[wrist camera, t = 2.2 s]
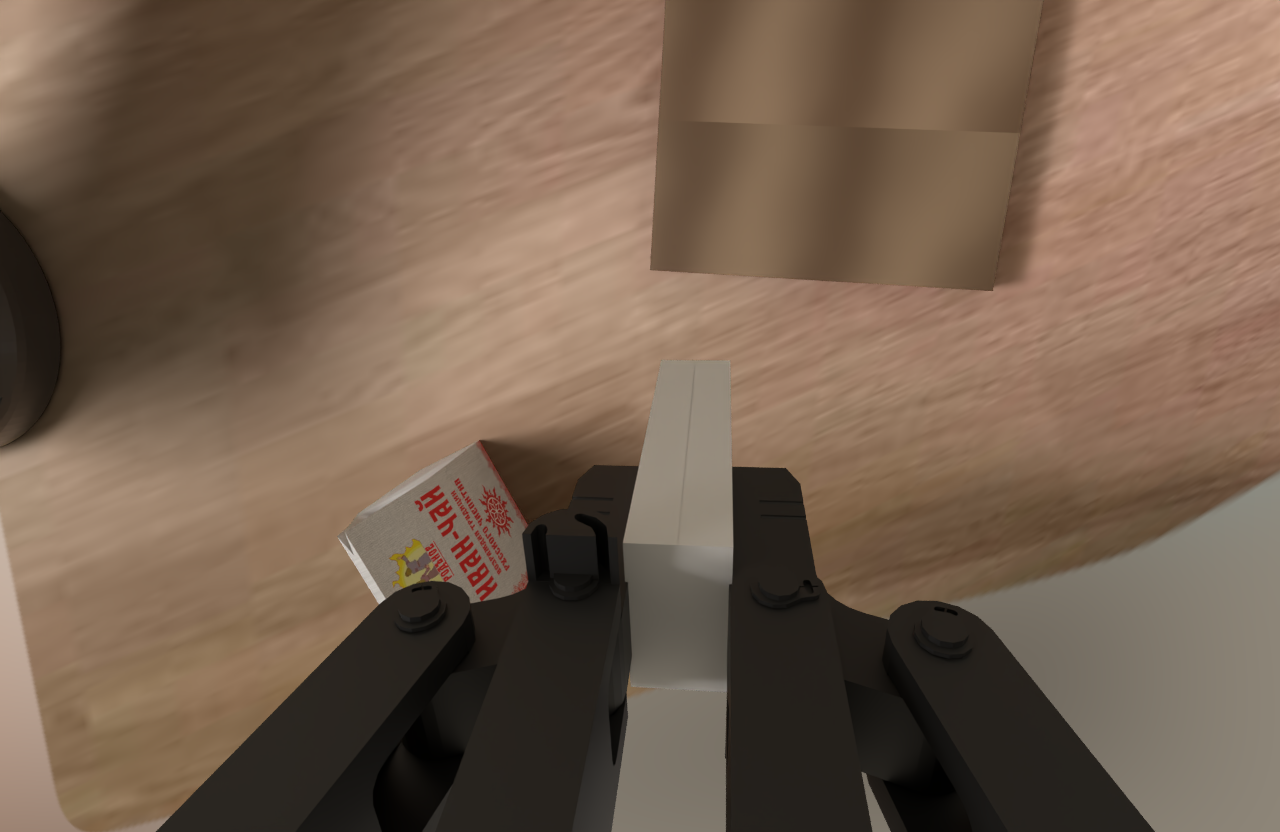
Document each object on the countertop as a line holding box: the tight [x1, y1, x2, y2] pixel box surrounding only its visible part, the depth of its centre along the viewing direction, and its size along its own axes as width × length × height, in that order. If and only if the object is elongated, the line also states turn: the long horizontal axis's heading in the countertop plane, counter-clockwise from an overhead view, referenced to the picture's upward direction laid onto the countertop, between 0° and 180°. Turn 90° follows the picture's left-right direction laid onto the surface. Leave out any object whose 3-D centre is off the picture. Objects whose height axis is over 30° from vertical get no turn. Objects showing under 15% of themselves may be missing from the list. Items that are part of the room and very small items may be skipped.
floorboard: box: [650, 0, 1043, 291], centre depth 29 cm, size 14×12×1 cm
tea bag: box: [337, 440, 528, 604], centre depth 31 cm, size 4×7×10 cm, turn 28°
